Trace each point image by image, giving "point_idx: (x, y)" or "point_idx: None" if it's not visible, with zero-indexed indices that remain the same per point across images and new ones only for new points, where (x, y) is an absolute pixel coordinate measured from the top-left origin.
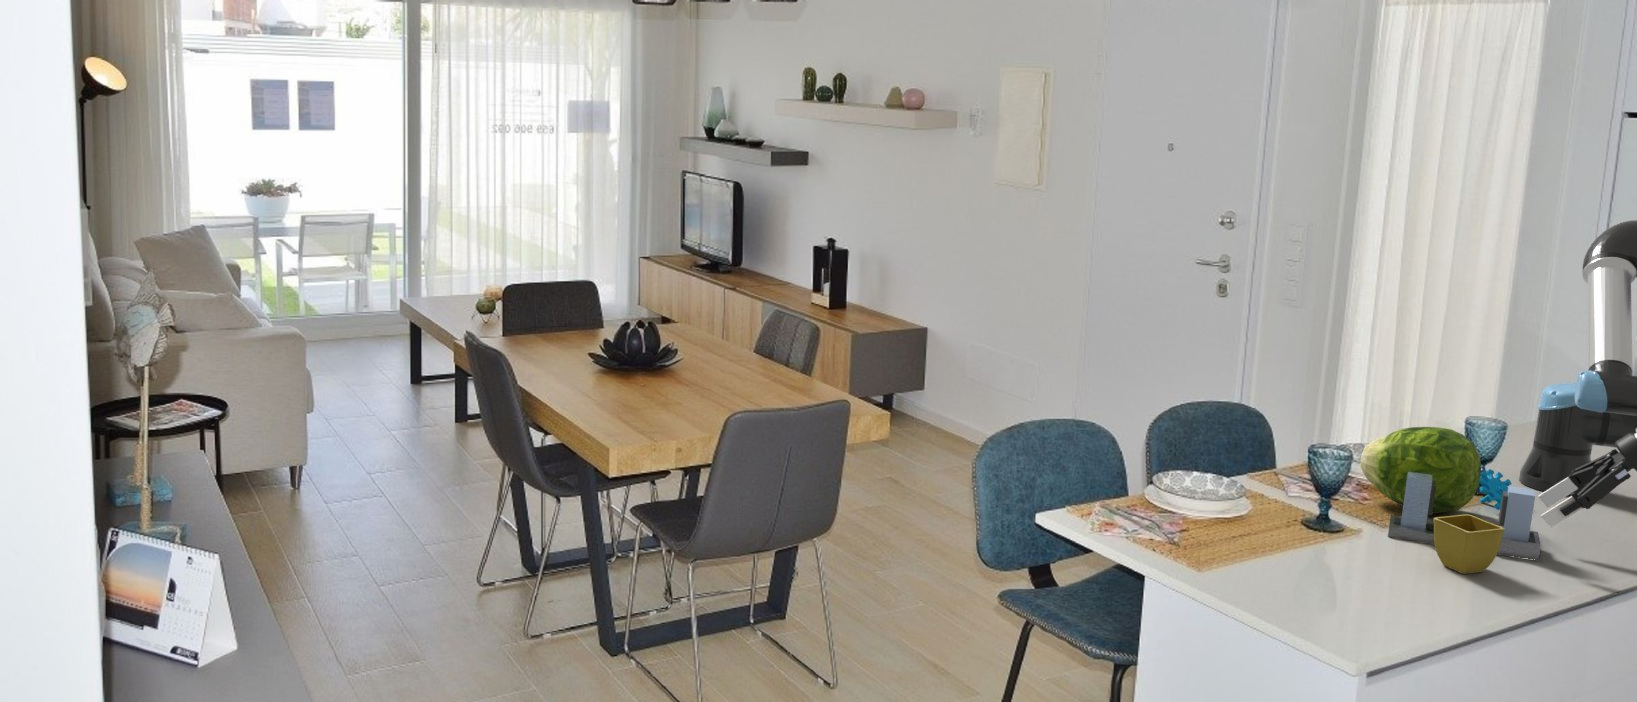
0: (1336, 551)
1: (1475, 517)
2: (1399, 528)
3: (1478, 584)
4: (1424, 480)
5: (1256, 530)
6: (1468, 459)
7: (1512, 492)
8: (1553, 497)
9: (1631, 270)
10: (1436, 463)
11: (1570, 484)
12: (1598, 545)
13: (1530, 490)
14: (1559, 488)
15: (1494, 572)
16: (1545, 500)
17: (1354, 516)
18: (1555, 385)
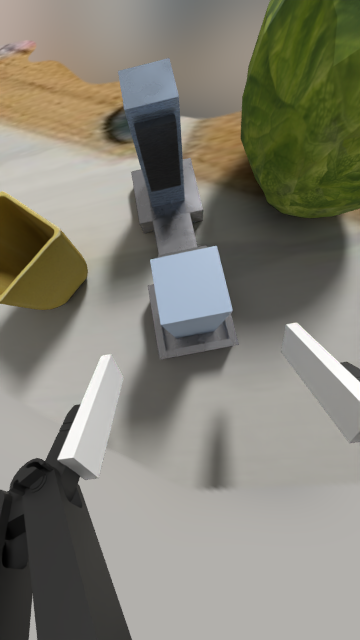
0: (43, 161)
1: (46, 244)
2: (134, 182)
3: (15, 308)
4: (123, 99)
5: (65, 89)
6: (357, 95)
7: (153, 267)
8: (299, 361)
9: None
10: (280, 68)
11: (351, 418)
12: (333, 436)
13: (216, 303)
14: (322, 377)
15: (74, 316)
16: (288, 343)
17: (192, 135)
18: None
